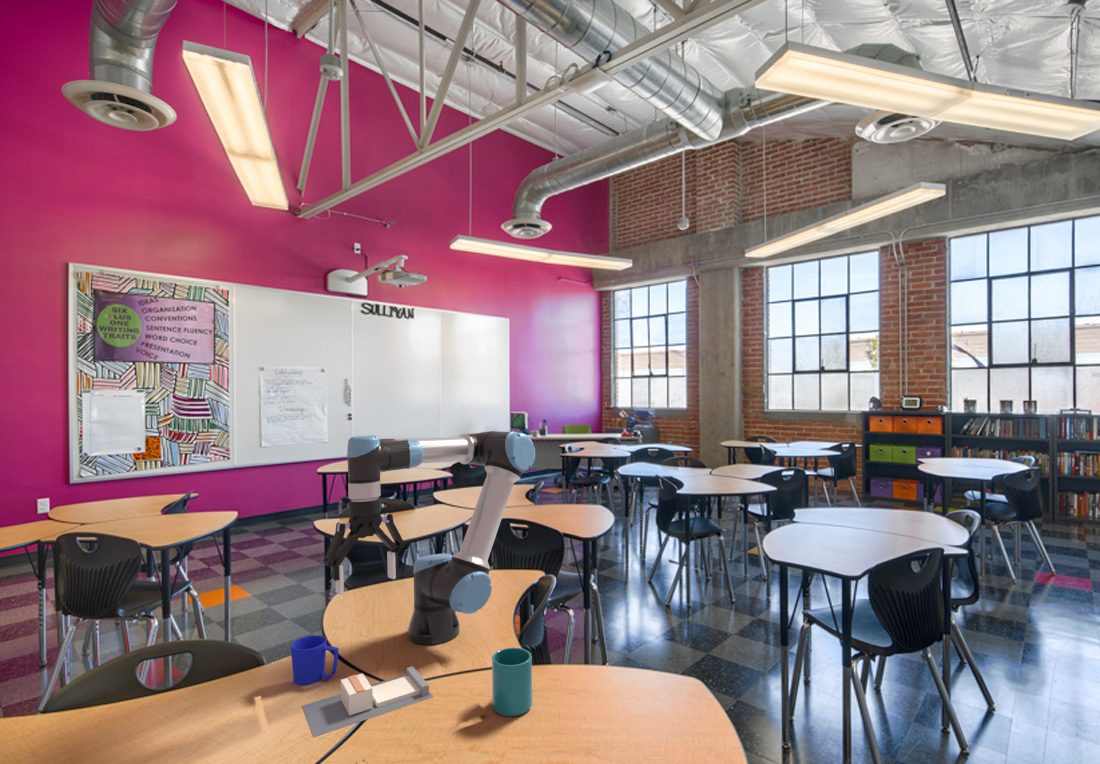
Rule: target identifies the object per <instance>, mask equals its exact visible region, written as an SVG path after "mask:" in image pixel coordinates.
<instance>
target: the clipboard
mask: <svg viewBox="0 0 1100 764" xmlns="http://www.w3.org/2000/svg"><path fill="white" fill-rule="evenodd" d="M370 685H371V687H372V688H373V708H372V709H369V710H366V711H362V712H359V713H356V714H353V715H350V716H349V714H348V712H347V710H346V708H345V706H344V705H343V703H342V701H341V693H340V694H336V695H333V696H329V697H325V698H323V699H318V700H316V701H313V702H308V703H306V704H304V705H301V708H302V711H303V713H304V716H305V719H306V720H307V723H308V726H309V729H310V732H311V734H312V737H313V738H316V737H318V736H321V735H325V734H327V733H331V732H334V731H336V730H337V731H338V730H339V729H343V728H346V727H348V726H352V725H354V724H358V723H360V722H363V721H364V722H365V721H366V720H369V719H372V718H375V717H378V716H381V715H384V714H387V713H390V712H394V711H396V710H399V709H403V708H405V707H408V706H411V705H413V704H417V703H420V702H423V701H425V700H428V699H432V698H434V695H433V694H432V692H431V691H430V685H429V683H428V682H427V680H425V679H424V678H423V676H422V675H421V674H420V673H419V672H418V671H417V670H416V668H415V667H414V666H413V665H412V666H409V667H406V673H405V674H402V675H399V676H395V677H392V678H388V679H385V680H382V681H379V682H376V683H372V684H370Z"/></svg>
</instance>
